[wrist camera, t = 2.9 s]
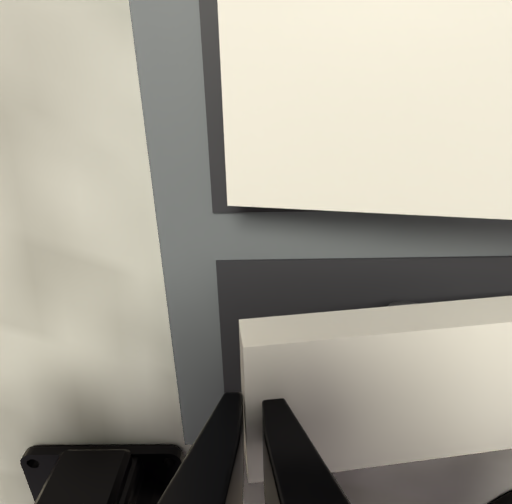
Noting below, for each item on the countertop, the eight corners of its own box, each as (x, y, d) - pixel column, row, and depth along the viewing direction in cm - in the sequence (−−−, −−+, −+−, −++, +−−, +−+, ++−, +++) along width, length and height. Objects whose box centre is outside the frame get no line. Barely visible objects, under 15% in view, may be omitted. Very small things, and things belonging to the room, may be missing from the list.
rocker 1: (638, 201, 8) (698, 228, 7) (244, 186, 9) (227, 205, 8) (733, -45, 6) (838, -75, 5) (238, -13, 8) (215, -30, 7)
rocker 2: (512, 400, 12) (552, 443, 10) (242, 432, 11) (248, 484, 10) (550, 281, 10) (604, 312, 9) (236, 307, 9) (242, 347, 8)
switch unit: (565, 384, 15) (624, 444, 13) (196, 388, 15) (184, 448, 13) (950, -616, 7) (1361, -1024, 4) (95, -584, 7) (4, -956, 4)
